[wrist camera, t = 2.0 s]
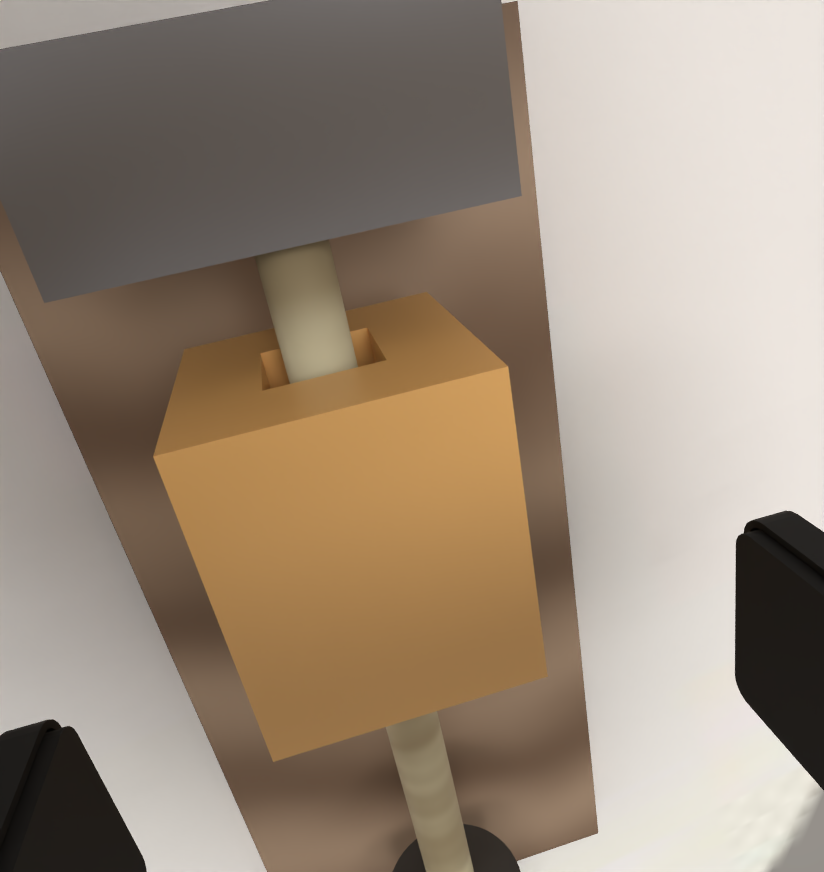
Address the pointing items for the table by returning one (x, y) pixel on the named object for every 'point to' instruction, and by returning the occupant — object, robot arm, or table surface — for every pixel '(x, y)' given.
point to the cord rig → (302, 351)
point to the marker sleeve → (357, 523)
